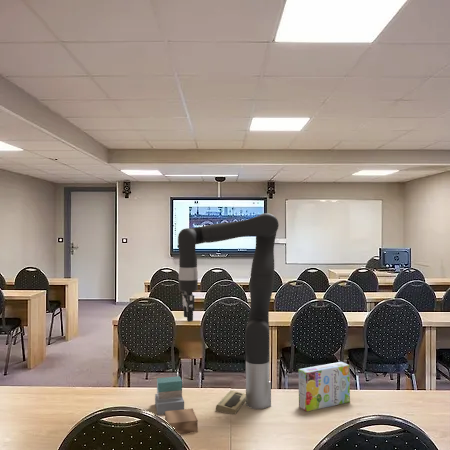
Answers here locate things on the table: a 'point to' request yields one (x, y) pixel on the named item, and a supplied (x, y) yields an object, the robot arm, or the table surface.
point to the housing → (169, 388)
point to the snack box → (324, 386)
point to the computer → (231, 402)
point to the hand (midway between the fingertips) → (188, 319)
